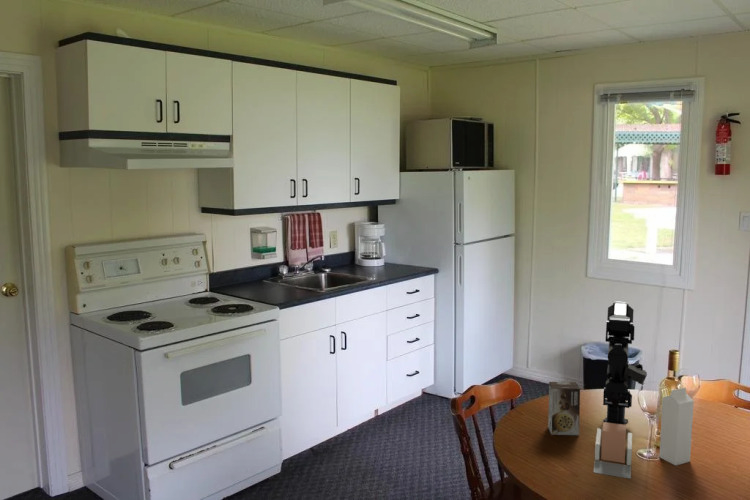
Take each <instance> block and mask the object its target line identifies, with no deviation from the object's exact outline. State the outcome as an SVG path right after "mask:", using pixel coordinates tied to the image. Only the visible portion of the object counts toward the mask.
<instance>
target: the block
mask: <svg viewBox="0 0 750 500" xmlns="http://www.w3.org/2000/svg"><path fill="white" fill-rule="evenodd" d="M602 422H603V421H602ZM626 440H627V424H624V425H622V424H614V423H607V422H603V424H602V430H601V456H600V461H606V462H613V463H619V464H625V463H626V445H627V444H626V442H627V441H626Z"/></svg>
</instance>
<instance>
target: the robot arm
mask: <svg viewBox="0 0 750 500" xmlns="http://www.w3.org/2000/svg"><path fill="white" fill-rule="evenodd" d="M634 312H635V311H634V309H633V308H632V307H631V306H630V305H629V302H627V301H618V300H615V301H613V302H612V304H611V305H610V306H609V307H607V315H606V316H607V317H606V325H605V327H606V328H605V342H606V343H607V342H608V352H607V372H606V374H607V375H606V377H607V378H606V381H605V386H604V387H603V396H602V397H603V398H602V399H603V401H602V402H603V403H602V405H603V406H606V408H607V409H606V417H605V418H604V419H602V422H607V423H614V424H622V425H626V423H628V422H629V419H627V418H625V417H626V415H625V414H626V409H630V407H631V408H632V405H633V394H632V393H631V390H629V384H628V380H629V379H630V380H632V381H634V382H636V383H638V384H640V385H643V384H644V382H645V380H646V377H647V375H648V373H647V371H646V370H644V369H643V364H641V363H639V362H638V363H636V364H635V365H633V364H630V363H629V345H632V343H633V341H635V325H634Z"/></svg>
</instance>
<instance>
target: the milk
mask: <svg viewBox="0 0 750 500" xmlns="http://www.w3.org/2000/svg"><path fill="white" fill-rule="evenodd" d="M686 391H687V388H686V387H682V388H676V389H671V390H670V395H667V396H663V397H662V403H661V405H662V406H661V418H660V419H661V420H660V439H659V456H658V457H659V458H661V459H662V460H664V461H666V462H668V463H670V464H672V465H673V466H679V465H683V464H686V463H690V462H691V453H692V452H691V451H692V433H693V430H692V429H693V420H694V419H693V416H694V415H693V414H694V402H695V401H694V399H692V398H691V396H690V395H689V394H688V393H687V392H686Z"/></svg>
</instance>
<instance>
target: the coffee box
mask: <svg viewBox="0 0 750 500" xmlns="http://www.w3.org/2000/svg"><path fill="white" fill-rule="evenodd" d="M580 405H581V388H580V386H579V384H578V383H577V381H549V382H548V419H547V421H548V424H547V427H548V430H549V432H550V435H552V436H555V435H558V436H561V435H562V436H580V409H581V407H580Z"/></svg>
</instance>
